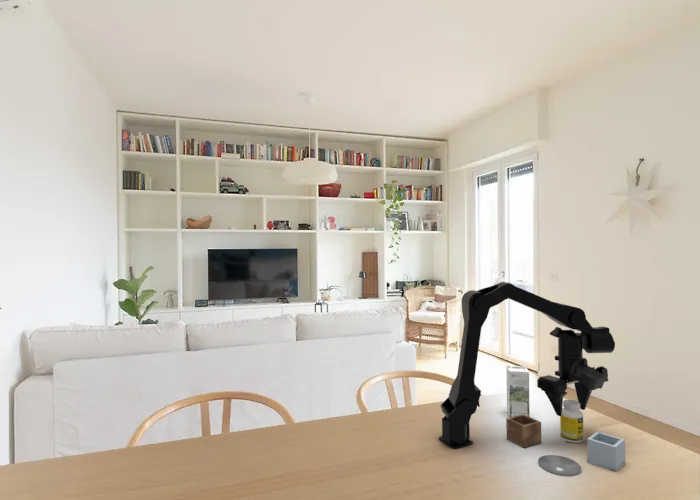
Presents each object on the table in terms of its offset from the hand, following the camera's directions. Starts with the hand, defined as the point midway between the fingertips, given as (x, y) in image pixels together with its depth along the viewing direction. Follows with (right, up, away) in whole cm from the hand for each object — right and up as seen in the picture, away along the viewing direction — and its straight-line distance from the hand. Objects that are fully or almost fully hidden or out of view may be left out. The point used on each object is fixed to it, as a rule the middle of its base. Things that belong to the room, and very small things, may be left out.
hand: (571, 412), depth 114 cm
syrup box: (-8, -7, +16) cm, 19 cm away
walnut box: (-13, -7, -1) cm, 15 cm away
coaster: (-10, -7, -14) cm, 18 cm away
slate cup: (+2, -7, -13) cm, 15 cm away
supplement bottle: (0, -7, 0) cm, 7 cm away
